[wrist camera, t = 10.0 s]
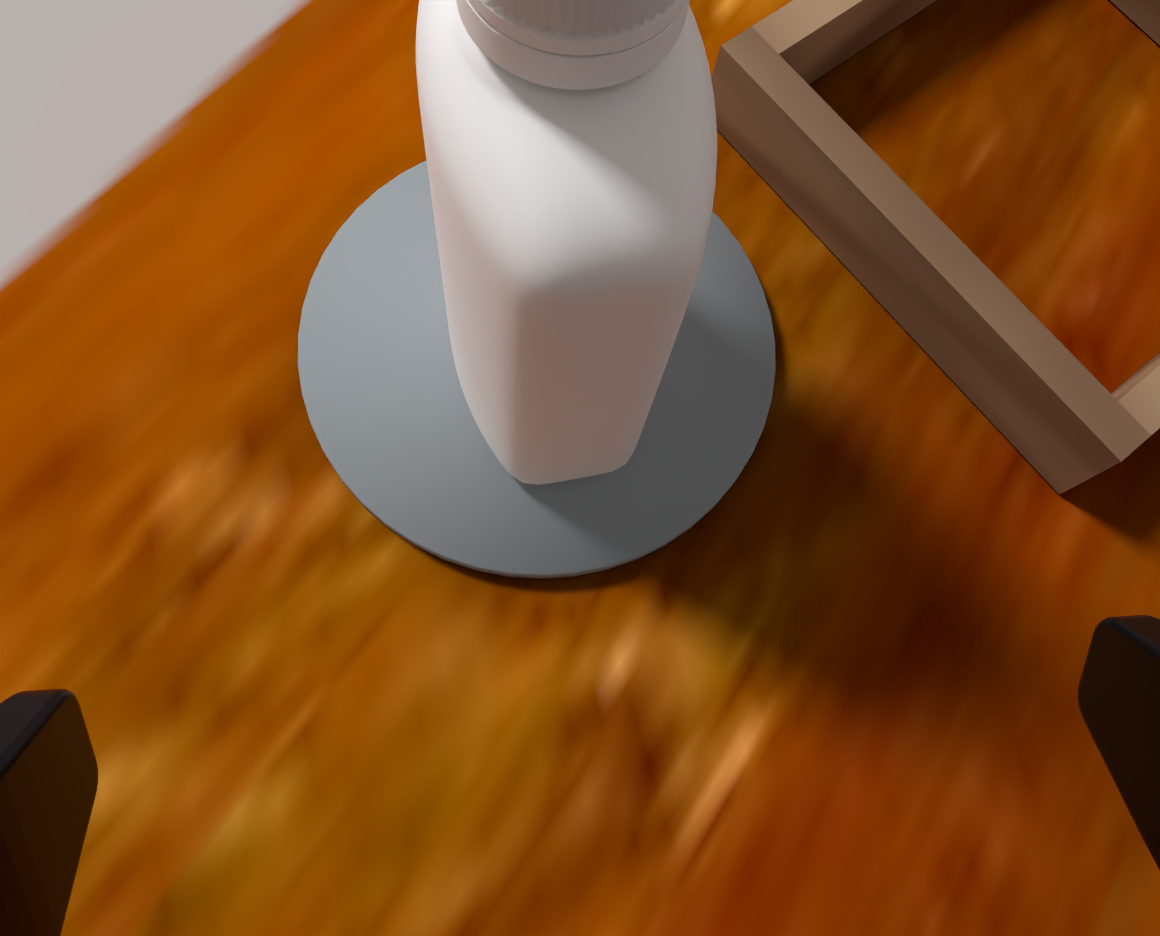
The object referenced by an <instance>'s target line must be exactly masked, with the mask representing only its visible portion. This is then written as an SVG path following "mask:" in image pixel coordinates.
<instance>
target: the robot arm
mask: <svg viewBox="0 0 1160 936" xmlns="http://www.w3.org/2000/svg"><path fill="white" fill-rule="evenodd" d="M1078 703H1079V708H1080V712H1081V715H1082V717H1083V719H1084V721H1085V723H1086V725H1087V728H1088V730H1089V732H1090V734H1091V736H1092V738H1093V740H1094V742H1095V744H1096V746H1097V748H1098V750H1099V752H1100V754H1101V756H1102V758H1103V760H1104V762H1105V764H1106V766H1107V768H1108V770H1109V772H1110V774H1111V776H1112V778H1113V780H1114V782H1115V784H1116V786H1117V788H1118V790H1119V792H1120V794H1121V796H1122V798H1123V800H1124V802H1125V804H1126V806H1127V808H1128V810H1129V812H1130V814H1131V816H1132V818H1133V820H1134V822H1135V824H1136V826H1137V828H1138V830H1139V832H1140V834H1141V836H1142V838H1143V840H1144V842H1145V844H1146V846H1147V848H1148V849H1149V851H1150V853H1151V855H1152V857H1153V859H1154V861H1155V863H1156V864H1157V866H1158V868H1159V870H1160V620H1159V619H1157V618H1155V617H1152V616H1147V615H1135V616H1121V617H1109V618H1106V619H1104V620H1102V621H1101V622H1100V623H1099V624H1098V625H1097V627H1096V628H1095V631H1094V634H1093V637H1092V641H1091V644H1090V648H1089V651H1088V655H1087V658H1086V662H1085V665H1084V669H1083V672H1082V676H1081V680H1080V683H1079V687H1078ZM97 784H98V768H97V762H96V758H95V755H94V751H93V748H92V745H91V741H90V738H89V735H88V731H87V728H86V725H85V721H84V718H83V715H82V711H81V708H80V705H79V702H78V700H77V698H76V697H75V695H74V694H73V693H72V692H70V691H68V690H66V689H49V690H34V691H23V692H19V693H16V694H14V695H12V696H11V697H9V698H8V699H6V700H5V701H3V702H2V703H0V936H60V935H61V931H62V927H63V923H64V919H65V915H66V911H67V907H68V904H69V900H70V896H71V892H72V888H73V884H74V880H75V876H76V872H77V868H78V864H79V860H80V856H81V852H82V848H83V844H84V840H85V836H86V832H87V828H88V824H89V820H90V816H91V812H92V808H93V804H94V800H95V796H96V791H97Z"/></svg>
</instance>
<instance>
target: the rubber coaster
mask: <svg viewBox="0 0 1160 936" xmlns="http://www.w3.org/2000/svg"><path fill="white" fill-rule="evenodd" d="M298 368H299V376H300V383H301V390H302V395H303V399H304V402H305V406H306V409H307V413H308V416H309V419H310V423H311V425H312V427H313V429H314V431H315V434H316V436H317V438H318V440H319V442H320V445H321V447H322V449H323V451H324V453H325V455H326V456H327V458H328V460H329V461H330V463H331V464H332V466H333V467H334V469H335V471H336V472H337V474H338V475H339V477H340V478H341V480H342V481H343V483H344V484H345V485H346V487H347V488H348V489H349V490H350V491H351V492H352V494H353V495H354V496H355V497H356V498H357V499H358V500H359V502H360V503H361V504H362V505H363V506H364V507H365V508H366V509H367V510H368V511H369V512H370V513H372V514H373V515H374V516H375V517H376V518H377V519H378V520H380V521H381V522H382V523H383V524H384V525H385V526H386V527H387V528H389V529H390V530H392V531H393V532H395V533H396V534H398V535H399V536H401V537H402V538H404V539H405V540H407V541H408V542H410V543H411V544H413V545H414V546H416V547H418V548H421V549H423V550H425V551H427V552H429V553H431V554H433V555H435V556H437V557H439V558H441V559H443V560H446V561H449V562H452V563H455V564H458V565H461V566H464V567H467V568H470V569H473V570H476V571H481V572H486V573H491V574H496V575H501V576H506V577H520V578H535V579H546V578H561V577H574V576H579V575H585V574H590V573H595V572H600V571H605V570H608V569H611V568H614V567H617V566H620V565H623V564H626V563H629V562H632V561H635V560H637V559H639V558H641V557H643V556H645V555H647V554H649V553H651V552H653V551H655V550H657V549H659V548H661V547H663V546H665V545H667V544H668V543H669V542H671V541H672V540H674V539H675V538H677V537H678V536H680V535H681V534H683V533H684V532H686V531H687V530H689V529H690V528H691V527H692V526H694V525H695V524H696V523H697V522H698V521H699V520H700V519H701V518H702V517H704V516H705V515H706V514H707V513H708V512H709V511H710V510H711V509H712V508H713V507H714V506H715V505H716V504H717V503H718V501H719V500H720V499H721V498H722V497H723V495H724V494H725V493H726V492H727V491H728V490H729V488H730V487H731V486H732V485H733V483H734V482H735V481H736V479H737V478H738V476H739V474H740V473H741V471H742V470H743V468H744V467H745V465H746V463H747V462H748V460H749V459H750V457H751V455H752V454H753V451H754V449H755V447H756V445H757V442H758V440H759V438H760V436H761V433H762V431H763V429H764V426H765V422H766V419H767V415H768V412H769V408H770V405H771V401H772V395H773V387H774V379H775V372H776V371H775V339H774V333H773V326H772V319H771V314H770V311H769V308H768V304H767V301H766V298H765V294H764V291H763V288H762V286H761V284H760V281H759V279H758V277H757V275H756V272H755V270H754V268H753V266H752V264H751V262H750V260H749V259H748V257H747V255H746V254H745V252H744V251H743V249H742V247H741V246H740V244H739V242H738V241H737V239H736V238H735V237H734V236H733V234H732V233H731V232H730V231H729V229H728V228H727V227H726V226H725V224H724V223H723V222H722V221H721V219H720V218H719V217H718V216H717V215H716V214H715V213H714V212H713V211H712V214H711V219H710V224H709V229H708V234H707V240H706V245H705V250H704V253H703V257H702V260H701V264H700V267H699V270H698V274H697V277H696V280H695V283H694V286H693V289H692V293H691V296H690V299H689V302H688V305H687V308H686V311H685V314H684V317H683V320H682V323H681V326H680V328H679V331H678V334H677V337H676V339H675V342H674V345H673V348H672V351H671V353H670V356H669V359H668V362H667V364H666V367H665V370H664V373H663V375H662V378H661V381H660V384H659V386H658V389H657V392H656V394H655V397H654V400H653V402H652V405H651V408H650V411H649V413H648V416H647V419H646V421H645V424H644V427H643V429H642V432H641V435H640V437H639V440H638V443H637V445H636V448H635V450H634V452H633V454H632V455H631V457H630V458H629V460H628V462H627V463H626V465H624V466H622V467H620V468H618V469H616V470H614V471H612V472H609V473H604V474H599V475H595V476H589V477H584V478H578V479H573V480H567V481H562V482H556V483H549V484H542V485H535V484H526V483H522V482H520V481H519V480H517V479H516V478H515V477H513V476H512V475H510V474H509V473H508V472H507V470H506V469H505V468H504V467H503V465H502V464H501V463H500V462H499V460H498V459H497V457H496V456H495V454H494V453H493V451H492V450H491V448H490V447H489V445H488V444H487V442H486V440H485V438H484V437H483V435H482V433H481V432H480V430H479V428H478V426H477V424H476V422H475V420H474V418H473V416H472V413H471V411H470V409H469V406H468V404H467V402H466V399H465V396H464V393H463V391H462V388H461V385H460V381H459V378H458V374H457V371H456V367H455V362H454V358H453V353H452V347H451V341H450V334H449V327H448V319H447V312H446V304H445V297H444V289H443V281H442V274H441V266H440V259H439V251H438V243H437V236H436V228H435V220H434V213H433V205H432V197H431V190H430V182H429V174H428V167H427V160H426V161H424V162H422V163H420V164H418V165H416V166H414V167H413V168H411V169H409V170H407V171H405V172H403V173H401V174H400V175H398V176H397V177H396V178H394V179H393V180H391V181H390V182H388V183H387V184H385V185H384V186H383V187H381V188H380V189H378V190H377V191H376V192H375V193H374V194H373V195H372V196H370V197H369V198H368V199H367V200H366V201H365V202H364V203H363V204H362V205H360V206H359V207H358V208H357V209H356V210H355V212H354V213H353V214H352V215H351V216H350V217H349V219H348V220H347V221H346V222H345V223H344V224H343V226H342V227H341V228H340V229H339V230H338V232H337V233H336V235H335V236H334V238H333V239H332V241H331V243H330V244H329V246H328V247H327V249H326V250H325V252H324V253H323V255H322V257H321V259H320V262H319V264H318V266H317V268H316V270H315V272H314V274H313V277H312V279H311V281H310V285H309V288H308V291H307V294H306V298H305V301H304V304H303V308H302V314H301V321H300V327H299V334H298Z"/></svg>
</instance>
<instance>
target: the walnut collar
mask: <svg viewBox="0 0 1160 936" xmlns="http://www.w3.org/2000/svg"><path fill="white" fill-rule="evenodd" d="M935 1H937V0H793V1H791V2H790V3H788V4H787V5H785V6H783V7H782V8H780V9H779V10H777V11H775V12H774V13H772V14H771V15H769V16H767V17H766V18H764V19H763V20H761V21H759V22H758V23H756V24H755V25H753V26H751V27H750V28H748V29H747V30H745V31H743V32H742V33H740V34H739V35H737V36H735V37H734V38H732V39H731V40H729V41H727V42H726V43H724V44H723V45H721V47H720V51H719V54H718V58H717V61H716V65H715V68H714V72H713V75H712V79H711V81H712V86H713V92H714V100H715V111H716V124H717V130H718V131H719V132H720V133H721V134H722V135H723V136H724V137H725V138H726V140H727V141H728V142H729V143H730V144H731V145H732V146H733V147H734V148H735V149H736V150H737V151H738V152H739V153H740V154H741V156H742V157H743V158H744V159H745V160H746V161H747V162H748V163H749V164H750V165H751V166H752V167H753V168H754V169H755V170H756V172H757V173H758V174H759V175H760V176H761V177H762V178H763V179H764V180H765V181H766V182H767V183H768V184H769V185H770V186H771V188H772V189H773V190H774V191H775V192H776V193H777V194H778V195H779V196H780V197H781V198H782V199H783V200H784V201H785V202H786V204H787V205H788V206H789V207H790V208H791V209H792V210H793V211H794V212H795V213H796V214H797V215H798V216H799V217H800V219H801V220H802V221H803V222H804V223H805V224H806V225H807V226H808V227H809V228H810V229H811V230H812V231H813V232H814V233H815V235H816V236H817V237H818V238H819V239H820V240H821V241H822V242H823V243H824V244H825V245H826V246H827V247H828V248H829V249H830V251H831V252H832V253H833V254H834V255H835V256H836V257H837V258H838V259H839V260H840V261H841V262H842V263H843V264H844V265H845V267H846V268H847V269H848V270H849V271H850V272H851V273H852V274H853V275H854V276H855V277H856V278H857V279H858V280H859V281H860V283H861V284H862V285H863V286H864V287H865V288H866V289H867V290H868V291H869V292H870V293H871V294H872V295H873V296H874V297H875V299H876V300H877V301H878V302H879V303H880V304H881V305H882V306H883V307H884V308H885V309H886V310H887V311H888V312H889V314H890V315H891V316H892V317H893V318H894V319H895V320H896V321H897V322H898V323H899V324H900V325H901V326H902V327H903V328H904V330H905V331H906V332H907V333H908V334H909V335H910V336H911V337H912V338H913V339H914V340H915V341H916V342H917V343H918V344H919V346H920V347H921V348H922V349H923V350H924V351H925V352H926V353H927V354H928V355H929V356H930V357H931V358H932V359H933V360H934V362H935V363H936V364H937V365H938V366H939V367H940V368H941V369H942V370H943V371H944V372H945V373H946V374H947V375H948V376H949V378H950V379H951V380H952V381H953V382H954V383H955V384H956V385H957V386H958V387H959V388H960V389H961V390H962V391H963V392H964V394H965V395H966V396H967V397H968V398H969V399H970V400H971V401H972V402H973V403H974V404H975V405H976V406H977V407H978V409H979V410H980V411H981V412H982V413H983V414H984V415H985V416H986V417H987V418H988V419H989V420H990V421H991V422H992V423H993V425H994V426H995V427H996V428H997V429H998V430H999V431H1000V432H1001V433H1002V434H1003V435H1004V436H1005V437H1006V438H1007V439H1008V441H1009V442H1010V443H1011V444H1012V445H1013V446H1014V447H1015V448H1016V449H1017V450H1018V451H1019V452H1020V453H1021V454H1022V455H1023V457H1024V458H1025V459H1026V460H1027V461H1028V462H1029V463H1030V464H1031V465H1032V466H1033V467H1034V468H1035V469H1036V470H1037V471H1038V473H1039V474H1040V475H1041V476H1042V477H1043V478H1044V479H1045V480H1046V481H1047V482H1048V483H1049V484H1050V485H1051V486H1052V488H1053V489H1054V490H1055V491H1056V492H1057V493H1058V494H1059V495H1060V494H1062V493H1063V492H1065V491H1067V490H1069V489H1071V488H1073V487H1075V486H1077V485H1078V484H1080V483H1082V482H1084V481H1086V480H1088V479H1090V478H1092V477H1094V476H1095V475H1097V474H1099V473H1101V472H1103V471H1105V470H1107V469H1109V468H1111V467H1112V466H1114V465H1116V464H1118V463H1120V462H1122V461H1123V460H1124V459H1125V458H1126V457H1127V456H1128V455H1130V454H1131V453H1132V452H1133V451H1134V450H1135V449H1136V448H1138V447H1139V446H1140V445H1141V444H1142V443H1143V442H1144V441H1146V440H1147V439H1148V438H1149V437H1150V436H1151V435H1152V434H1154V433H1155V432H1156V431H1157V430H1158V429H1159V428H1160V352H1159V353H1158V354H1157V355H1156V356H1154V357H1153V358H1152V359H1151V360H1150V361H1149V362H1147V363H1146V364H1145V365H1144V366H1143V367H1142V368H1140V369H1139V370H1138V371H1137V372H1136V373H1135V374H1133V375H1132V376H1131V377H1130V378H1129V379H1127V380H1126V381H1125V382H1124V383H1123V384H1122V385H1120V386H1119V387H1118V388H1117V389H1116V390H1115V391H1113V392H1112V393H1111V394H1110V393H1109V392H1108V391H1107V390H1106V388H1105V387H1104V386H1103V385H1102V384H1101V383H1100V382H1099V381H1098V380H1097V379H1096V378H1095V377H1094V376H1093V375H1092V374H1091V373H1090V372H1089V371H1088V370H1087V369H1086V368H1085V367H1084V366H1083V365H1082V364H1081V363H1080V362H1079V361H1078V360H1077V359H1076V358H1075V357H1074V356H1073V355H1072V354H1071V353H1070V352H1069V351H1068V350H1067V349H1066V348H1065V347H1064V346H1063V344H1062V343H1061V342H1060V341H1059V340H1058V339H1057V338H1056V337H1055V336H1054V335H1053V334H1052V333H1051V332H1050V331H1049V330H1048V329H1047V328H1046V327H1045V326H1044V325H1043V324H1042V323H1041V322H1040V321H1039V320H1038V319H1037V318H1036V317H1035V316H1034V315H1033V314H1032V313H1031V312H1030V311H1029V310H1028V309H1027V308H1026V307H1025V306H1024V305H1023V304H1022V303H1021V302H1020V300H1019V299H1018V298H1017V297H1016V296H1015V295H1014V294H1013V293H1012V292H1011V291H1010V290H1009V289H1008V288H1007V287H1006V286H1005V285H1004V284H1003V283H1002V282H1001V281H1000V280H999V279H998V278H997V277H996V276H995V275H994V274H993V273H992V272H991V271H990V270H989V269H988V268H987V267H986V266H985V265H984V264H983V263H982V262H981V261H980V260H979V259H978V258H977V256H976V255H975V254H974V253H973V252H972V251H971V250H970V249H969V248H968V247H967V246H966V245H965V244H964V243H963V242H962V241H961V240H960V239H959V238H958V237H957V236H956V235H955V234H954V233H953V232H952V231H951V230H950V229H949V228H948V227H947V226H946V225H945V224H944V223H943V222H942V221H941V220H940V219H939V218H938V217H937V216H936V215H935V214H934V212H933V211H932V210H931V209H930V208H929V207H928V206H927V205H926V204H925V203H924V202H923V201H922V200H921V199H920V198H919V197H918V196H917V195H916V194H915V193H914V192H913V191H912V190H911V189H910V188H909V187H908V186H907V185H906V184H905V183H904V182H903V181H902V180H901V179H900V178H899V177H898V176H897V175H896V174H895V173H894V172H893V171H892V169H891V168H890V167H889V166H888V165H887V164H886V163H885V162H884V161H883V160H882V159H881V158H880V157H879V156H878V155H877V154H876V153H875V152H874V151H873V150H872V149H871V148H870V147H869V146H868V145H867V144H866V143H865V142H864V141H863V140H862V139H861V138H860V137H859V136H858V135H857V134H856V133H855V132H854V131H853V130H852V129H851V128H850V127H849V125H848V124H847V123H846V122H845V121H844V120H843V119H842V118H841V117H840V116H839V115H838V114H837V113H836V112H835V111H834V110H833V109H832V108H831V107H830V106H829V105H828V104H827V103H826V102H825V101H824V100H823V99H822V98H821V97H820V96H819V95H818V94H817V93H816V92H815V91H814V90H813V89H812V88H811V87H810V86H809V84H811V83H812V82H814V81H815V80H817V79H818V78H820V77H821V76H823V75H824V74H826V73H827V72H829V71H830V70H832V69H833V68H835V67H836V66H838V65H839V64H841V63H842V62H844V61H845V60H847V59H849V58H850V57H852V56H853V55H855V54H856V53H858V52H859V51H861V50H862V49H864V48H865V47H867V46H868V45H870V44H871V43H873V42H874V41H876V40H877V39H879V38H880V37H882V36H883V35H885V34H887V33H888V32H890V31H891V30H893V29H894V28H896V27H897V26H899V25H900V24H902V23H903V22H905V21H906V20H908V19H909V18H911V17H912V16H914V15H915V14H917V13H918V12H920V11H921V10H923V9H925V8H926V7H928V6H929V5H931V4H932V3H934V2H935ZM1110 1H1111V2H1112V3H1113V4H1115V5H1116V6H1117V7H1118V8H1119V9H1120V10H1121V11H1122V12H1123V13H1124V14H1125V15H1127V16H1128V17H1129V18H1130V19H1131V20H1132V21H1133V22H1134V23H1135V24H1136V25H1138V26H1139V27H1140V28H1141V29H1142V30H1143V31H1144V32H1145V33H1146V34H1147V35H1148V36H1150V37H1151V38H1152V39H1153V40H1154V41H1155V42H1156V43H1157V44H1158V45H1159V46H1160V0H1110Z"/></svg>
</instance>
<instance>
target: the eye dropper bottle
mask: <svg viewBox="0 0 1160 936" xmlns="http://www.w3.org/2000/svg"><path fill="white" fill-rule="evenodd" d="M689 3H690V0H420V1H419V8H418V18H417V29H416V69H417V83H418V94H419V104H420V112H421V120H422V128H423V136H424V143H425V151H426V159H427V167H428V174H429V182H430V190H431V197H432V205H433V213H434V220H435V228H436V236H437V243H438V251H439V259H440V266H441V274H442V281H443V289H444V297H445V304H446V312H447V319H448V327H449V334H450V341H451V347H452V353H453V358H454V362H455V367H456V371H457V374H458V378H459V381H460V385H461V388H462V391H463V393H464V396H465V399H466V402H467V404H468V406H469V409H470V411H471V413H472V416H473V418H474V420H475V422H476V424H477V426H478V428H479V430H480V432H481V433H482V435H483V437H484V438H485V440H486V442H487V444H488V445H489V447H490V448H491V450H492V451H493V453H494V454H495V456H496V457H497V459H498V460H499V462H500V463H501V464H502V465H503V467H504V468H505V469H506V470H507V472H508V473H509V474H510V475H512V476H513V477H515V478H516V479H517V480H519V481H520V482H522V483H526V484H535V485H542V484H549V483H556V482H562V481H567V480H573V479H578V478H584V477H589V476H595V475H599V474H604V473H609V472H612V471H614V470H616V469H618V468H620V467H622V466H624V465H626V463H627V462H628V460H629V458H630V457H631V455H632V454H633V452H634V450H635V448H636V445H637V443H638V440H639V437H640V435H641V432H642V429H643V427H644V424H645V421H646V419H647V416H648V413H649V411H650V408H651V405H652V402H653V400H654V397H655V394H656V392H657V389H658V386H659V384H660V381H661V378H662V375H663V373H664V370H665V367H666V364H667V362H668V359H669V356H670V353H671V351H672V348H673V345H674V342H675V339H676V337H677V334H678V331H679V328H680V326H681V323H682V320H683V317H684V314H685V311H686V308H687V305H688V302H689V299H690V296H691V293H692V289H693V286H694V283H695V280H696V277H697V274H698V270H699V267H700V264H701V260H702V257H703V253H704V250H705V245H706V240H707V234H708V229H709V224H710V219H711V214H712V208H713V200H714V192H715V182H716V164H717V124H716V111H715V100H714V92H713V86H712V81H711V75H710V69H709V64H708V60H707V56H706V52H705V48H704V44H703V41H702V38H701V35H700V32H699V29H698V26H697V23H696V20H695V18H694V15H693V13H692V10H691V8H690V6H689Z"/></svg>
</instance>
